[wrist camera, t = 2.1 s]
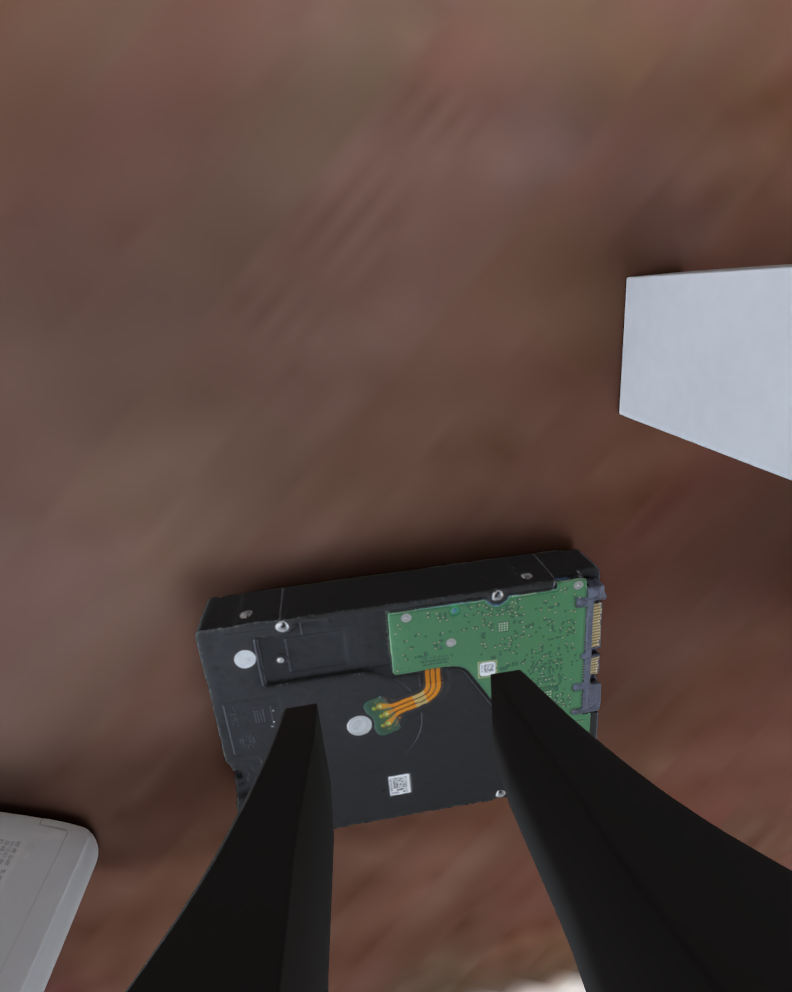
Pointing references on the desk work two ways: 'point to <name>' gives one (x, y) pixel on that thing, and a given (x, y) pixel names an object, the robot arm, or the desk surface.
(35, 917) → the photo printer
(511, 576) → the disk drive
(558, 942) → the desk surface
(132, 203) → the desk surface
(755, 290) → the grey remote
